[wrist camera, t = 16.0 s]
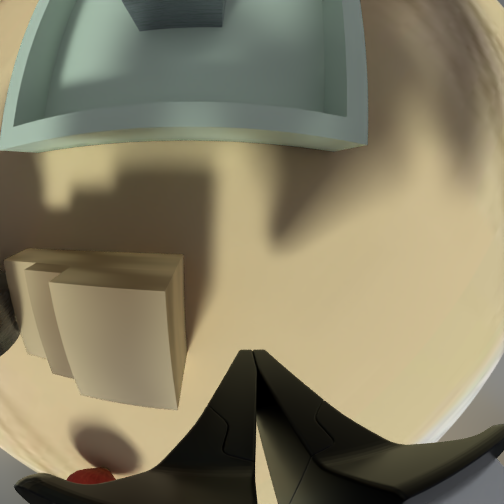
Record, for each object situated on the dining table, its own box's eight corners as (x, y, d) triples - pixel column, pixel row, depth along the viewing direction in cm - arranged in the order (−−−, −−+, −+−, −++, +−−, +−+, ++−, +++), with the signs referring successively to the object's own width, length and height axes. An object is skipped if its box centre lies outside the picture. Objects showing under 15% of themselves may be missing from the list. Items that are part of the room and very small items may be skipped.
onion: (124, 489, 16) (113, 551, 9) (70, 462, 15) (49, 524, 7) (146, 474, 16) (136, 551, 8) (82, 443, 14) (56, 519, 7)
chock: (47, 332, 12) (11, 373, 8) (31, 246, 11) (-21, 272, 7) (187, 350, 13) (177, 410, 9) (184, 252, 12) (165, 291, 8)
